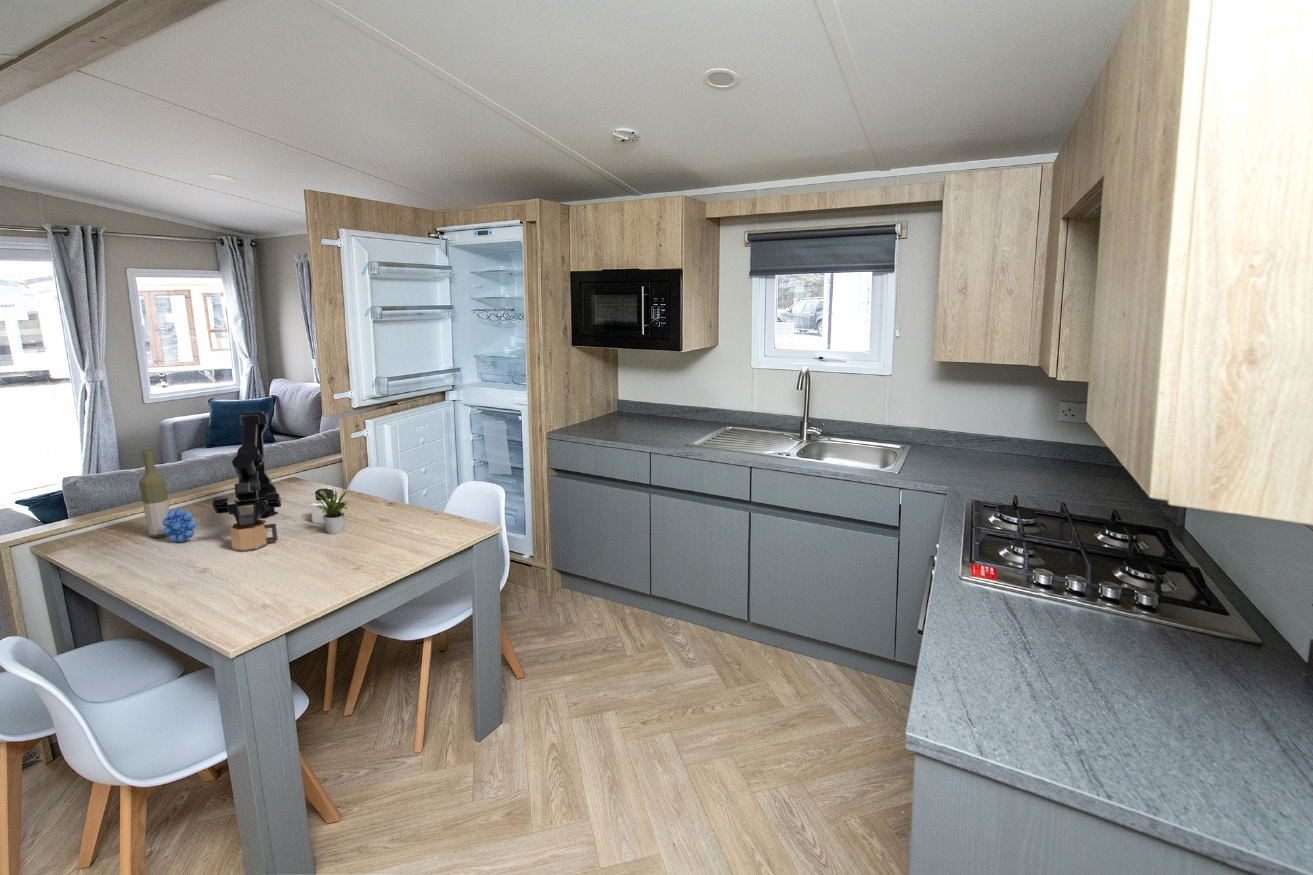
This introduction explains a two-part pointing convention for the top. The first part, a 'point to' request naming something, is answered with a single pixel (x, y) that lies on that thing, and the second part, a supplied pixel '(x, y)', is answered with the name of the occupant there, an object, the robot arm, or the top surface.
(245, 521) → the grey cube on disc
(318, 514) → the medicine bottle
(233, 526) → the octagonal wooden mug
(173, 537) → the grapes
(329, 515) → the house plant
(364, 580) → the top surface
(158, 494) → the bottle
